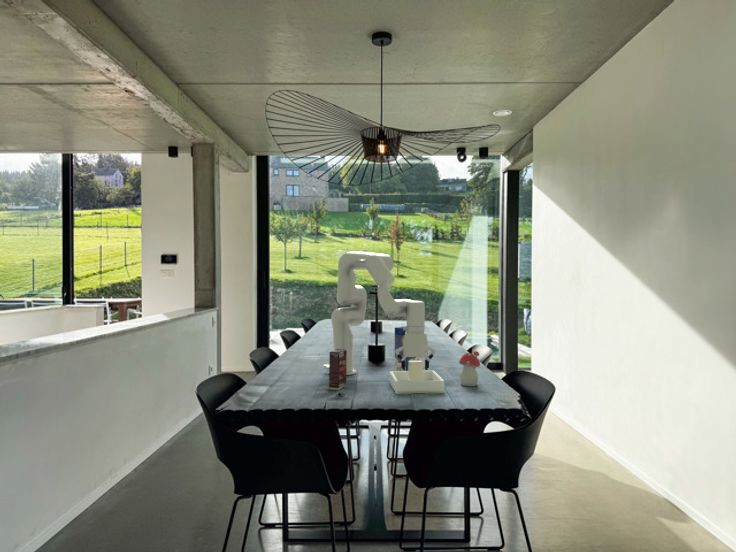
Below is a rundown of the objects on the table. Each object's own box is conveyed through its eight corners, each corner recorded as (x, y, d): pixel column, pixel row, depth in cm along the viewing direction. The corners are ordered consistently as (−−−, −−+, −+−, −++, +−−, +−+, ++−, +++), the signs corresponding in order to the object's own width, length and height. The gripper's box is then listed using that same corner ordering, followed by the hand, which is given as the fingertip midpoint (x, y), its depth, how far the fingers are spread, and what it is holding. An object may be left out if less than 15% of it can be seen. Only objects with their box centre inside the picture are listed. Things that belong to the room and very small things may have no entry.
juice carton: (410, 386, 227) (410, 363, 227) (408, 383, 233) (408, 360, 232) (423, 386, 228) (423, 362, 227) (420, 383, 233) (420, 360, 233)
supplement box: (339, 390, 225) (339, 352, 225) (328, 389, 227) (328, 351, 226) (347, 386, 233) (347, 349, 233) (336, 385, 235) (336, 348, 234)
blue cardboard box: (418, 371, 266) (418, 326, 266) (406, 374, 258) (406, 328, 257) (407, 369, 270) (407, 325, 270) (394, 373, 262) (394, 327, 261)
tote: (395, 394, 218) (395, 381, 218) (389, 382, 240) (389, 371, 240) (444, 393, 220) (444, 380, 220) (434, 381, 242) (434, 370, 242)
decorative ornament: (482, 385, 233) (482, 351, 233) (473, 388, 229) (473, 352, 229) (465, 382, 240) (465, 348, 240) (456, 384, 236) (456, 350, 236)
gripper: (396, 330, 225) (395, 371, 226) (437, 331, 227) (436, 371, 227) (394, 328, 233) (393, 368, 233) (434, 328, 234) (433, 368, 235)
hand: (415, 369), depth 230 cm, fingers open, 9 cm apart
